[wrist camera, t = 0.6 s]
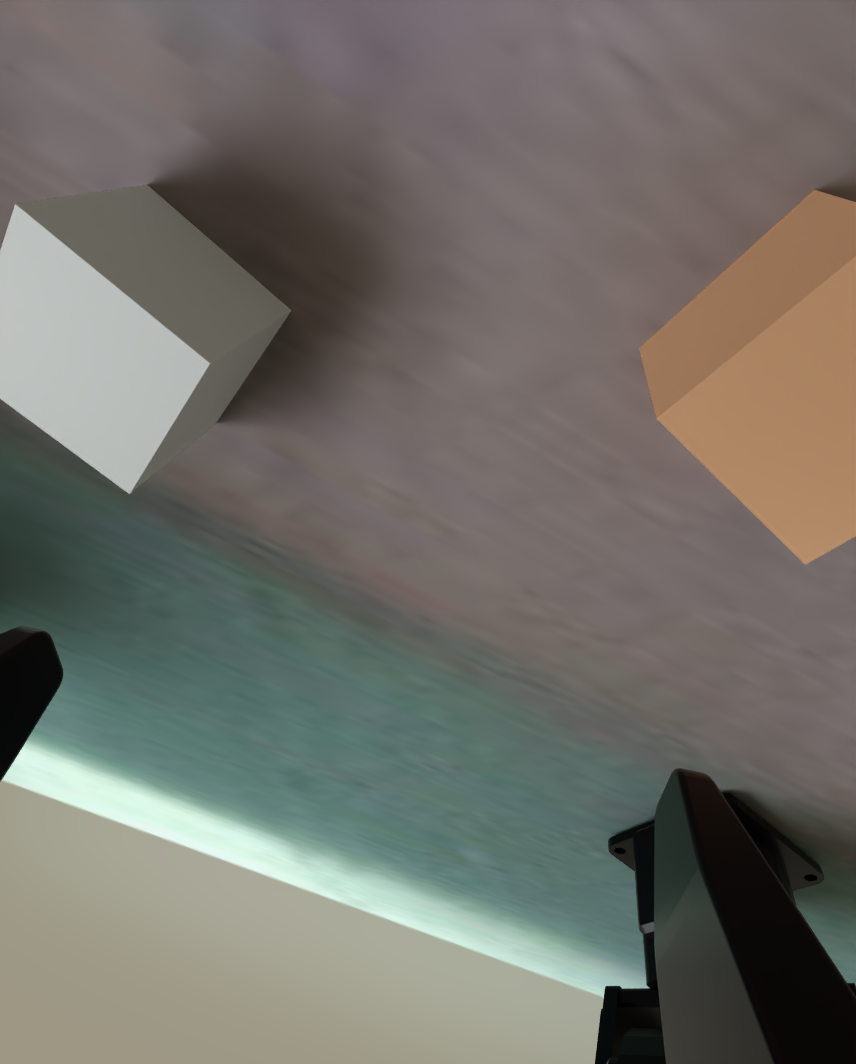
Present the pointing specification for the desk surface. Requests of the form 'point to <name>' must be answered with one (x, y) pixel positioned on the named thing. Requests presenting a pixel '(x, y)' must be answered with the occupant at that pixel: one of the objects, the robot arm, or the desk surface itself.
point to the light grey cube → (124, 327)
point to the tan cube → (773, 376)
